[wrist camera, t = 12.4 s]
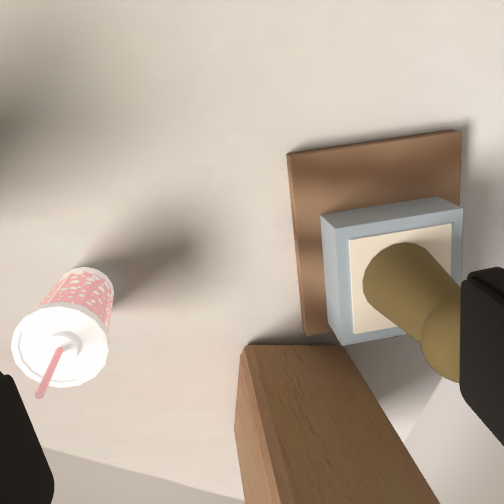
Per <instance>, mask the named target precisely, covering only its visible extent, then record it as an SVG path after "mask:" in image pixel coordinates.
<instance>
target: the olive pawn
mask: <svg viewBox="0 0 504 504" xmlns="http://www.w3.org/2000/svg"><path fill="white" fill-rule="evenodd" d="M362 283H363V293H364V295H365V297H366V300H367V302H368V303H369V304H370V305H371V306H372V307H373V308H374V309H376V310H377V311H378V312H380V313H381V314H382V315H384V316H385V317H386V318H387V319H389V320H390V321H391V322H393V323H394V324H395V325H397V326H398V327H399V328H401V329H402V330H403V331H405V332H406V333H407V334H409V335H410V336H411V337H413V338H414V339H415V340H417V341H418V342H419V343H421V348H422V350H423V353H424V355H425V358H426V360H427V362H428V363H429V364H430V365H431V367H432V368H433V369H434V370H435V371H436V372H437V373H438V374H439V375H441V376H443V377H444V378H446V379H449V380H451V381H454V382H457V383H459V373H460V292H461V287H460V286H459V285H458V284H457V283H456V281H455V280H454V279H453V278H452V277H451V276H450V275H449V274H448V273H447V272H446V271H445V269H444V268H443V267H442V266H441V265H440V264H439V263H438V262H437V261H436V260H435V258H434V257H433V256H432V255H431V254H430V253H429V252H428V251H427V250H426V249H425V248H423V247H421V246H419V245H417V244H415V243H406V242H403V243H398V244H393V245H391V246H389V247H387V248H385V249H383V250H381V251H380V252H379V253H378V254H377V255H376V256H374V257H373V258H372V259H371V261H370V263H369V264H368V266H367V268H366V269H365V273H364V277H363V280H362Z"/></svg>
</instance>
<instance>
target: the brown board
mask: <svg viewBox="0 0 504 504" xmlns="http://www.w3.org/2000/svg"><path fill="white" fill-rule="evenodd" d="M461 138H462V132H461V131H455V130H448V131H441V132H434V133H427V134H420V135H413V136H406V137H399V138H393V139H386V140H379V141H372V142H365V143H358V144H351V145H344V146H337V147H331V148H324V149H317V150H310V151H303V152H296V153H289V154H287V165H288V175H289V186H290V197H291V207H292V218H293V228H294V239H295V250H296V260H297V271H298V281H299V292H300V303H301V313H302V324H303V329H304V332H305V334H306V336H312V335H318V334H323V333H329V332H333V330H332V328H331V327H330V325H329V323H328V316H327V302H326V288H325V275H324V261H323V247H322V234H321V220H320V215H321V214H327V213H334V212H340V211H346V210H353V209H359V208H365V207H372V206H378V205H384V204H391V203H397V202H403V201H410V200H416V199H422V198H429V197H435V196H438V197H440V198H442V199H444V200H446V201H449V202H451V203H453V204H455V205H458V206H459V199H460V168H461Z"/></svg>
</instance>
